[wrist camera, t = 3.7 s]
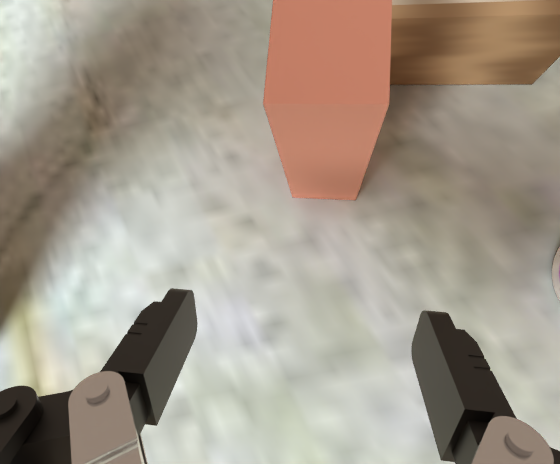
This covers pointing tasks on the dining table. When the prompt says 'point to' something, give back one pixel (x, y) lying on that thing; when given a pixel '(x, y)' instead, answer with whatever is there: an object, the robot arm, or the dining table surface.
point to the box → (473, 41)
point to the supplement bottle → (556, 273)
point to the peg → (327, 91)
